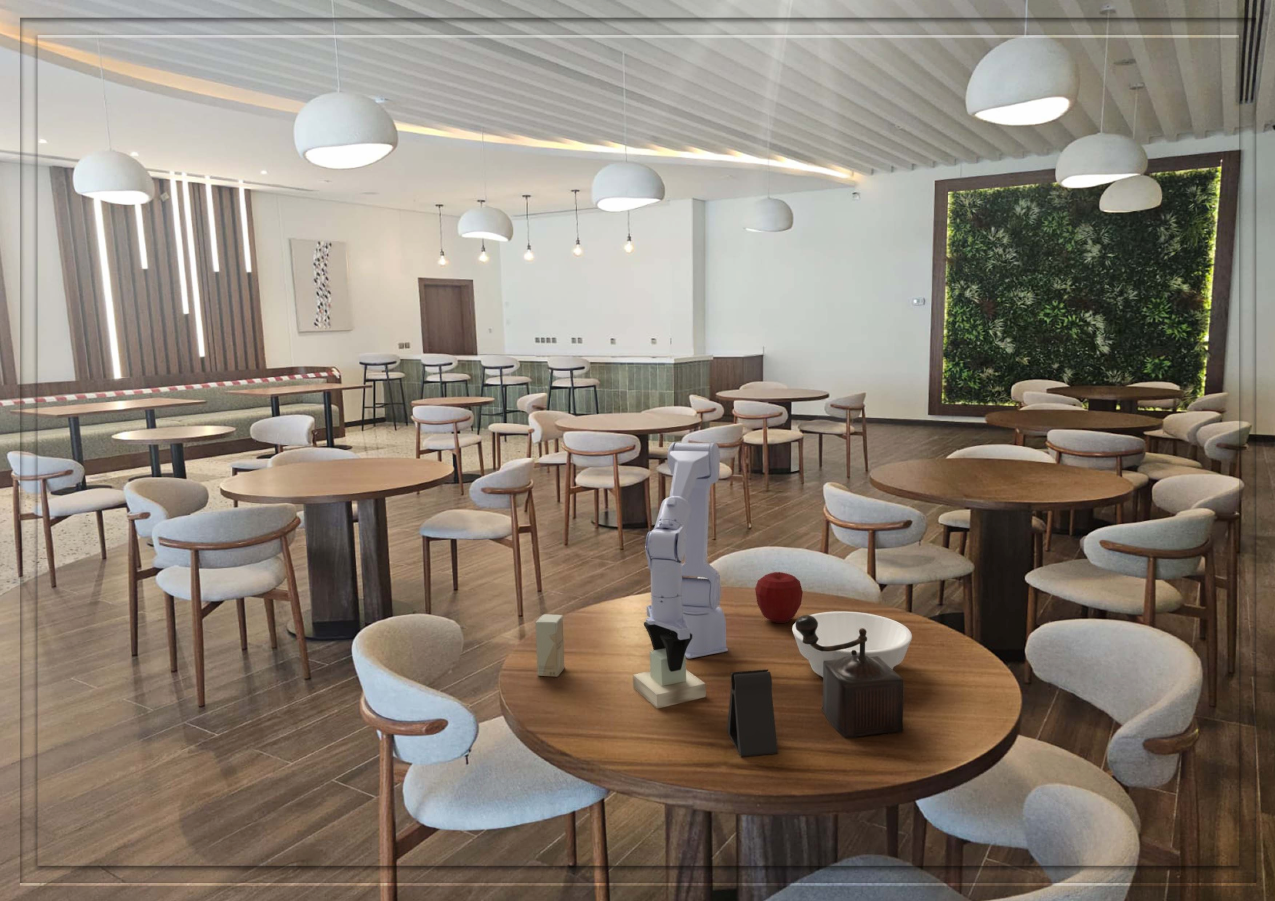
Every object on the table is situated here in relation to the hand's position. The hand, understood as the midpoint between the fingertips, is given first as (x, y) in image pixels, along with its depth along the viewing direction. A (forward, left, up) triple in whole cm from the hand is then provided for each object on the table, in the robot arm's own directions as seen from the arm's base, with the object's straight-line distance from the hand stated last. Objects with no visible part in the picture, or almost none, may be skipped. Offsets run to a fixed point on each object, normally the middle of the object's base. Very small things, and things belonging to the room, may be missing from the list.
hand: (668, 664), depth 150 cm
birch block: (0, 0, -6) cm, 6 cm away
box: (+17, -19, -6) cm, 26 cm away
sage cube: (0, 0, -3) cm, 3 cm away
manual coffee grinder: (-22, +24, -6) cm, 33 cm away
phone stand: (-4, +23, -6) cm, 24 cm away
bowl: (-36, +7, -6) cm, 37 cm away
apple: (-39, -23, -6) cm, 46 cm away
